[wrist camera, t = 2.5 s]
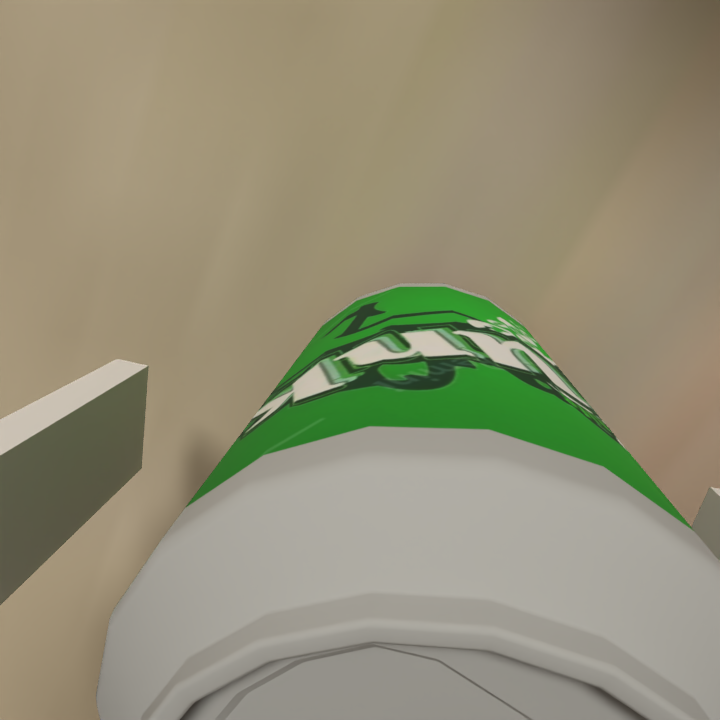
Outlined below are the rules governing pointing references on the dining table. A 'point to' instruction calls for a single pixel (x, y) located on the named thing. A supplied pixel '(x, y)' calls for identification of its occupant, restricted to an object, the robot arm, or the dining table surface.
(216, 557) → the soda can
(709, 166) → the dining table surface
